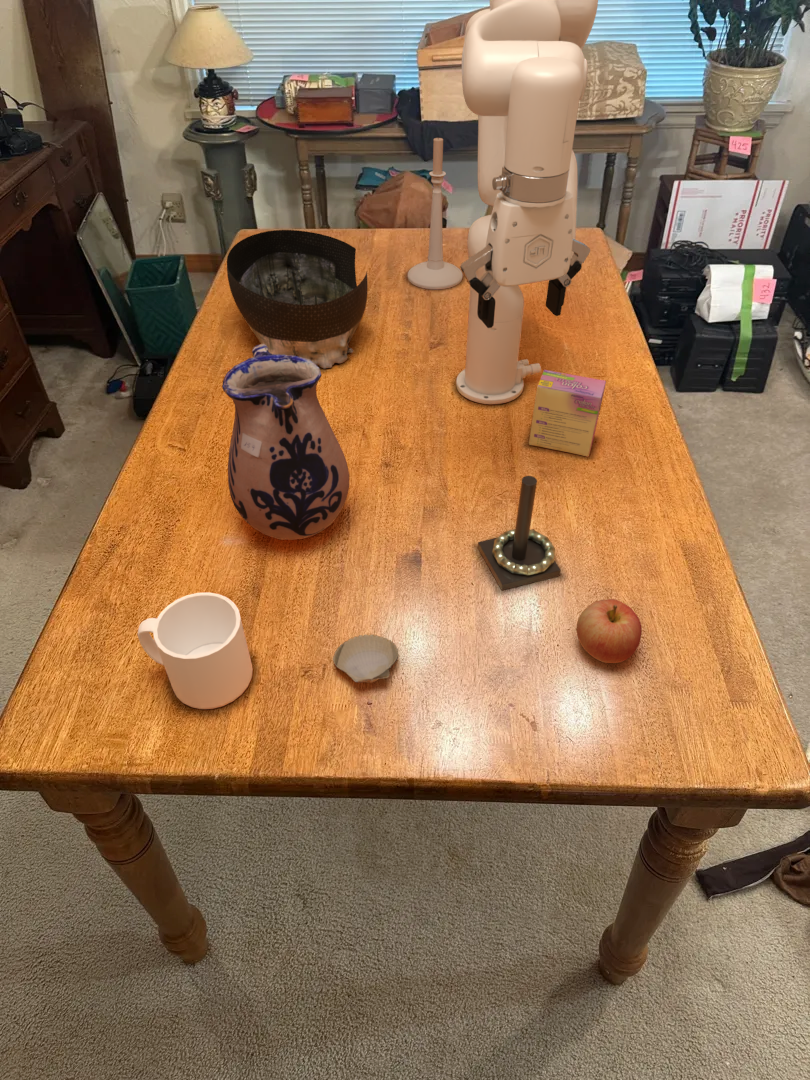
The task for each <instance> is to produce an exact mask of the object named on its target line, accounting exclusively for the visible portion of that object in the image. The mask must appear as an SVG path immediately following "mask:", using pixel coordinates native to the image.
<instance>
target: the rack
mask: <svg viewBox="0 0 810 1080" xmlns="http://www.w3.org/2000/svg"><path fill="white" fill-rule="evenodd" d="M537 485H538V479H537V478H536V477H535V476H533V475H525V476H523V477H522V478H521V483H520V489H519V490H520V491H519V496H518V497H519V498H518V505H517V513H516V519H515V526H514V527H515V528H514V529H515V534H514V539H512V540H509V541H508V542H507V543H505V544H504V545H503V551H502V552H503V553H504V555H505V557H506V558H507V559H509V560H510V561H512V562H514V563H516V564H522V565H532V564H536V563H539V562H540V561H541V560H542V559H543V558H544V557H545V550H544V549H543V547H542V546H541V544H539V543H537V542H535V541H533V540H532V539H528V538H529V532H530V530H535V529H534V528H532V529H531V524H532V517H533V511H534V504H535V498H536V491H537ZM497 538H498V537H494V538H490V539H485V540H481V541H478V542H477V549H478V551H479V553H480V554H481V556H482V558H483V560H484V561H485V563H486V565H487V567H488V569H489V570H490V573H491V574H492V575H493V576H492V577H494V579H495V581H496V583H497V585H498V586H499V588H500V590H501V591H505V590H508V589H513V588H517V587H520V586H524V585H525V586H526V585H528V584H532V583H536V582H541V581H544V580H548V579H553V578H556V577H559V576H561V572H562V570H561V568H560V566H559V565H558V564H557V562H556V560H555V559H554V562H553V564H552V565H550V566H549V567H548V568H547V569H546V570H545V571H544V572H541V573H537V574H533V575H529V576H528V575H521V574H514V573H511V572H510V571H508V570H506V569H505V568H503V567H501V566H500V565H499V564H498V563H497V561H496V559H495V557H494V556H493V554H492V551H493V545H494V541H495V539H497Z"/></svg>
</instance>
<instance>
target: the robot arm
mask: <svg viewBox="0 0 810 1080" xmlns="http://www.w3.org/2000/svg"><path fill="white" fill-rule="evenodd" d="M598 5H599V0H489V8H486V9H483V10H479V11H478V12H476V13H474V14H473V15H472V16H471V17H470V18H469V19H468V20H467V21H468V22H467V23H466V27H465V29H464V30H465V31H464V40H463V46H462V53H461V79H462V80H461V84H462V94H463V99H464V101H465V102H464V103H465V105H466V107H467V108H468V110H469V111H470V112H472V113H473V114H475V115H477V119H478V120H477V122H478V123H477V124H478V126H477V130H478V131H477V189H478V190H477V191H478V195H479V198H480V200H481V201H482V202H483V204H485V205H486V206H491V207H492V211H491V214H487V215H483V216H481V217H479V218H477V219H476V220H475V221H473V223H472V224H471V225H470V227H469V230H468V234H467V240H466V243H467V246H466V247H467V248H466V249H467V259H466V260H464V261H463V262H462V263H460V266H459V269H460V270H461V271H462V274H463V276H464V278H465V280H466V282H467V284H468V285H469V297H468V318H467V332H466V334H467V335H466V351H465V352H466V353H465V368H464V369H463V370H461V371H460V372H458V374H457V377H456V379H455V386H456V390H457V391H458V393H459V394H460V395H461V396H462V397H464V398H466V399H467V400H469V401H472V402H475V403H478V404H483V405H501V404H507V403H509V402H511V401H514V400H515V399H517V398H519V397H520V396H521V394H522V393H523V391H524V383H525V382H524V380H523V379H525V378H526V376H529V375H530V376H533V375H537V374H541V371H542V366H541V364H540V363H539V362H536V363H531V364H530V363H529V362H530V361H529V359H528V358H524V359H520V360H519V354H520V346H521V345H520V344H521V338H522V337H521V336H522V329H523V320H524V311H525V297H524V294H523V291H522V289H521V287H520V286H522V285H523V286H524V285H529V284H535V283H540V282H547V281H548V284H547V292H546V298H545V308H546V309H548V310H549V311H550V313H552V314H553V316H555V317H558V316H559V317H560V316H561V314H562V307H563V306H564V304H565V298H566V293H567V292H566V291H567V287H570V286H571V284H572V279H574V278H575V276H577V274H578V273H580V271H581V270H582V266H583V264H584V263H585V261H586V259H587V258H588V256H589V254H590V253H591V248H590V247H589V246H588V245H587V244H586V243H584V242H581V241H579V240H577V238H576V237H577V212H578V211H577V208H578V184H579V183H578V182H579V181H578V179H579V178H578V161H577V157H576V154H575V152H574V150H573V148H574V141H575V140H574V139H575V132H576V125H577V119H578V113H579V112H578V111H579V105H580V101H582V99H583V97H584V95H585V92H586V87H587V84H588V83H587V82H588V72H589V67H588V66H589V63H588V60H587V59H586V58H585V55H584V53H583V49H584V46H585V45H586V43H587V40H588V38H589V36H590V34H591V32H592V29H593V26H594V24H595V19H596V16H597V11H598Z"/></svg>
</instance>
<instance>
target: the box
mask: <svg viewBox="0 0 810 1080" xmlns="http://www.w3.org/2000/svg"><path fill="white" fill-rule="evenodd" d="M606 384H607V381H606V380H604V379H598V378H593V377H587V376H582V375H575V374H571V373H565V372H559V371H554V370H548V369H543V372H542V375H541V376H540V379H539V381H538V384H537V387H536V391H535V398H534V404H533V412H532V419H531V425H530V433H529V440H528V445H529V446H534V447H538V448H539V447H540V448H544V449H549V450H554V451H558V452H559V451H560V452H565V453H569V454H574V455H579V456H583V457H587V458H589V456H590V453H591V450H592V447H593V443H594V439H595V435H596V428H597V425H598V421H599V417H600V412H601V408H602V402H603V399H604V393H605V389H606Z"/></svg>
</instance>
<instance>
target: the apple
mask: <svg viewBox="0 0 810 1080" xmlns="http://www.w3.org/2000/svg"><path fill="white" fill-rule="evenodd" d="M638 616H639V615H638V614H637V613H636V612H635V611H634V609H633V608H632V607H630V606H629V605H628V604H626V603H624V602H623V601H620V600H618V599H615V598H607V599H599V600H595V601H593V602H592V603H591V604H589V605H588V606H587V607H586V608H584V609H583V610H582V612H581V613H580V614H579V616H578V619H577V621H576V635H577V638H578V641H579V643H580V645H581V647H582V648H583V650H584V651H585V652H586V653H588V655H590V656H591V657H592V658H594V659H596V660H597V661H600V662H601V663H606V664H616V663H622V662H624V661H627V660H628V659H630V658H631V657H632V656H633V655H634V654H635V652H636V651H637V650H638V648H639V646H640V643H641V639H642V623H641V619H640V618H639V617H638Z"/></svg>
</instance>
